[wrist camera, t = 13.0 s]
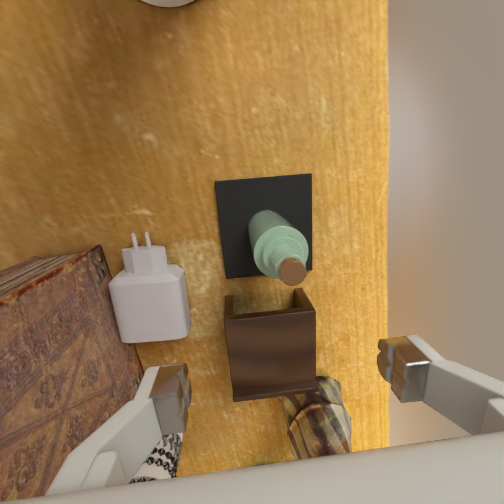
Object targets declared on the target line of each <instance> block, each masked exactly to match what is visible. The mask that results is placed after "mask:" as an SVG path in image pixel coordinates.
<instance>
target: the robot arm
mask: <svg viewBox="0 0 504 504" xmlns="http://www.w3.org/2000/svg"><path fill="white" fill-rule="evenodd" d="M141 1H143V2H146V3H148V4H151V5H155V6H160V7H178V6H182V5H186V4H188V3H191V2H193V1H195V0H141ZM378 348H379V349H380V351H381V352H380V353H379V354H378V356H377V365H378V369H379V372H380V374H381V375H382V377H383V378H384V380H386V381H387V382H389V383H391V389H392V391H393V392H394V394H395V395H396V396H397V398H398V399H399V400H400V401H401V403H404V402H415V401H423V402H424V403H425V404H427V405H429V406H430V407H431V408H433V409H434V410H436V411H437V412H439V413H440V414H442V415H443V416H445V417H446V418H448V419H449V420H451V421H452V422H454V423H455V424H457V425H458V426H459V427H461V428H462V429H464V430H465V431H467V432H468V433H470V434H471V435H470V436H463V437H456V438H449V439H443V440H435V441H428V442H421V443H415V444H407V445H400V446H394V447H386V448H379V449H371V450H364V451H357V452H350V453H343V454H336V455H329V456H322V457H315V458H308V459H301V460H294V461H287V462H280V463H273V464H266V465H259V466H252V467H245V468H238V469H230V470H223V471H216V472H209V473H202V474H195V475H188V476H181V477H174V478H167V479H160V480H153V481H146V482H139V483H132V484H129V482H130V481H131V480H132V478H133V477H134V475H135V474H136V473H137V471H138V470H139V469H140V467H141V466H142V465H143V463H144V462H145V460H146V459H147V458H148V456H149V455H150V454H151V452H152V451H153V449H154V448H155V447H156V445H157V444H158V443H159V441H160V440H161V438H162V436H163V435H170V434H176V433H182V432H185V431H186V425H187V420H188V412H187V408H188V407H189V406H190V403H191V382H190V379H189V378H187V374H188V368H187V364H186V363H181V364H171V365H161V366H153V367H148V368H147V369H146V371H145V374H144V376H143V378H142V381H141V383H140V386H139V388H138V390H137V393H136V395H135V397H134V400H132V401H129V402H128V403H126V404H125V405H124V406H123V407H122V408H121V409H120V410H118V411H117V412H116V413H115V414H114V415H113V416H112V417H110V418H109V419H108V420H107V421H106V422H105V423H104V424H102V425H101V426H100V427H99V428H98V429H97V430H96V431H94V432H93V433H92V434H91V435H90V436H89V437H88V438H87V439H85V440H84V441H83V442H82V443H81V444H80V445H79V446H77V447H76V448H75V449H74V450H73V451H72V452H71V453H69V454H68V456H67V457H66V459H65V461H64V463H63V464H62V466H61V468H60V470H59V471H58V473H57V475H56V477H55V478H54V480H53V482H52V484H51V485H50V487H49V489H48V491H47V492H46V494H45V496H40V497H33V498H26V499H19V500H12V501H5V502H0V504H504V382H502V381H500V380H497V379H495V378H492V377H490V376H487V375H485V374H482V373H480V372H477V371H475V370H473V369H470V368H468V367H465V366H463V365H461V364H458V363H456V362H453V361H451V360H445V359H444V358H443V357H442V356H441V355H439V354H438V353H437V352H436V351H435V350H434V349H433V348H432V347H430V346H429V345H428V344H427V343H426V342H425V341H424V340H423V339H422V338H420V337H419V336H418V335H415V334H414V335H407V336H402V337H394V338H386V339H380V340H379V342H378Z"/></svg>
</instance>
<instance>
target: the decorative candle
mask: <svg viewBox="0 0 504 504" xmlns="http://www.w3.org/2000/svg"><path fill="white" fill-rule="evenodd" d="M182 440H183V434H182V433H176V434H170V435H163V436H162V438H161V440H160V441H159V443H158V444H157V445H156V447H155V448H154V449H153V451H152V452H151V454H150V455H149V456H148V458H147V459H146V460H145V462H144V463H143V465H142V466H141V467H140V469H139V470H138V471H137V473H136V474H135V475H134V477H133V478H132V480H131V481H130V482H129V484H132V483H139V482H146V481H153V480H160V479H167V478H174V477H176V472H177V468H178V464H177V463H178V462H179V457H180V452H181V447H182Z"/></svg>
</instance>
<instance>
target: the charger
mask: <svg viewBox="0 0 504 504" xmlns="http://www.w3.org/2000/svg"><path fill="white" fill-rule="evenodd" d="M131 236H132V241H133V247H130V248H125V249H121V253H122V258H123V262H124V267H125V268H124V269H123V270H122V271H120V272H119V273H118V274H117V275H116V276H115V277H114V278H113V279H112V280H111V282H110V283H109V284H108V285H109V290H110V294H111V298H112V303H113V307H114V311H115V315H116V320H117V324H118V328H119V333H120V337H121V341H122V342H123V343H140V342H152V341H164V340H175V339H181V338H184V337H186V336H187V335H188V333H189V329H190V325H191V319H190V311H189V304H188V296H187V289H186V282H185V274H184V270H183V269H182V268H180V267H179V266H178V265H176V264H168V265H167V258H166V252H165V247H164V246H157V245H151V243H150V237H149V233H148V232H145V239H146V244H147V246H138V245H137V240H136V234H135V233H132V234H131Z"/></svg>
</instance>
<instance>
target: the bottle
mask: <svg viewBox="0 0 504 504" xmlns="http://www.w3.org/2000/svg"><path fill="white" fill-rule="evenodd" d="M248 236H249V240H250V244H251V248H252V252H253V256H254V260H255V263H256V265H257V267H258V269H259V270H260V271H261V272H262V273H263V274H265V275H267V276H269V277H271V278H276V279H280V280H281V281H283V282H284V283H285V284H287V285H290V286H295V285H298V284H300V283H301V282H302V281H303V280H304V279H305V277H306V273H307V271H306V265H305V263H306V261H307V258H308V244H307V241H306V239H305V237H304V236H303V235H302V234H301V233H300V232H299V231H298V230H297V229H296V228H295V227H294V226H293V225H291V224H290V223H289V222H288V221H287V220H286V219H285V218H284V217H283V216H281V215H280V214H279V213H277V212H275V211H272V210H264V211H261V212H259V213H257V214H255V215H254V216H253V217H252V219H251V220H250V222H249V225H248Z"/></svg>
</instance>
